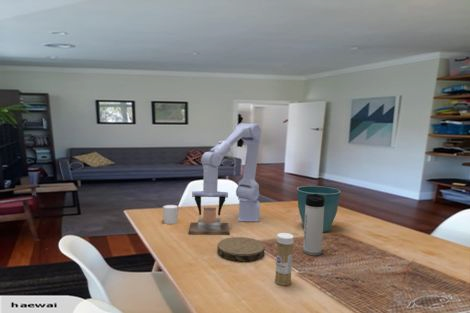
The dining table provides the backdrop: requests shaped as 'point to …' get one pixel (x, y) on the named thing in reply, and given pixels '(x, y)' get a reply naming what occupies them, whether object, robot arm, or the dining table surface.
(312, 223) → the travel mug
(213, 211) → the terracotta block
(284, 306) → the dining table surface
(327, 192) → the flower pot
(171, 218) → the grey cup
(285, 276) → the sprinkles bottle
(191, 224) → the walnut base
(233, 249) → the wood slice coaster
